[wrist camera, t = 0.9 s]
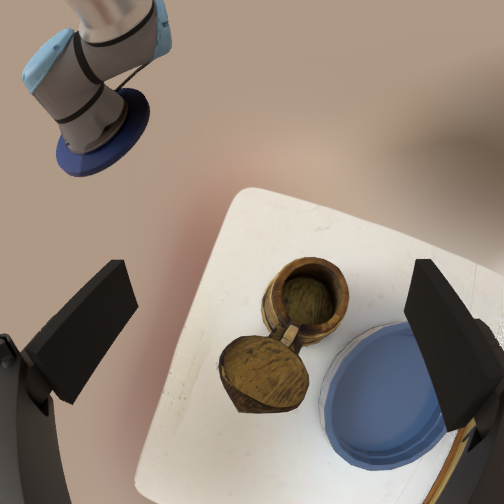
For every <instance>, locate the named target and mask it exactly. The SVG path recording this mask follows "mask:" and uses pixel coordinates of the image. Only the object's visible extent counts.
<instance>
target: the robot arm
mask: <svg viewBox="0 0 504 504" xmlns="http://www.w3.org/2000/svg"><path fill="white" fill-rule="evenodd" d="M65 1H66V3H67V4H68V5H69V6H70V7H71V9H72V10H73V11H74V12H75V13H76V15H77V16H78V17H79V18H80V20H81V23H80V26H79V31H77V32H75V33H74V30H73V29H71V28H66V29H65V30H62V31H60V32H59V33H57V34H56V35H54V36H53V37H52V38H51V39H50V40H48V41H47V42H46V43H45V44H44V45H43V46H42V47H41V48H40V49H39V50H38V51H37V52H36V53H35V54H34V56H33V57H32V58H31V59H30V61H29V62H28V63H27V65H26V67H25V68H24V70H23V73H22V81H23V83H24V84H25V86H26V87H27V89H28V90H29V92H30V94H32V95H33V96H34V97H35V98H36V100H37V101H38V102H39V103H40V104H41V105H42V106H43V107H44V109H45V110H46V111H47V112H48V113H49V114H50V115H51V116H52V117H53V118H54V120H55V121H56V122H57V123H58V125H59V128H60V130H61V133H62V136H63V138H64V141H65V145H66V147H68V149H69V150H70V151H71V152H72V153H73V154H75V155H78V156H85V155H89V154H92V153H95V152H97V151H99V150H100V149H102V148H103V147H105V146H106V145H108V144H109V143H110V142H111V141H112V140H113V139H114V138H115V137H116V136H117V135H118V134H119V133H120V132H121V130H122V129H123V128H124V126H125V124H126V123H127V120H128V118H129V114H130V109H129V106H128V104H127V102H126V100H125V99H124V98H123V97H122V96H121V95H119V94H117V92H118V91H119V90H120V89H121V88H122V87H123V86H124V85H125V84H126V83H127V82H128V81H129V80H130V79H131V78H132V77H133V76H135V75H136V74H137V73H138V72H139V71H140V70H141V69H143V68H144V67H145V66H147V65H148V64H149V63H150V62H152V61H153V60H154V59H156V58H158V57H161V56H163V55H165V54H167V53H168V52H169V51H170V49H171V47H172V39H171V32H170V27H169V24H168V16H167V12H166V8H165V4H164V1H163V0H65ZM140 65H142V66H141V67H139V68H138V69H137V70H136V71H134V72H133V73H132V74H131V75H130V76H129V77H128V78H127V79H126V80H124V81H123V82H122V83H121V84H120V85H119V86H118V87H117V88H116V89H115V90H114V91H113V90H112V89H111V88H109V87H108V86H106V85H105V84H104V81H106V80H108V79H110V78H112V77H115V76H117V75H119V74H121V73H123V72H126V71H128V70H131V69H133V68H135V67H138V66H140ZM137 308H138V304H137V301H136V298H135V295H134V292H133V289H132V286H131V283H130V279H129V276H128V273H127V269H126V266H125V262H124V260H111V261H110V262H109V263H107V265H105V266H104V267H103V268H102V269H101V270H100V271H99V272H98V273H97V274H96V275H95V276H94V277H93V278H92V279H91V280H90V281H88V282H87V283H86V284H85V285H84V286H83V287H82V288H81V289H80V290H79V291H78V292H77V293H76V294H75V295H74V296H73V297H72V298H71V299H70V300H69V301H68V302H67V303H66V304H65V305H64V307H63V308H62V309H61V310H60V311H59V312H58V313H57V314H56V315H54V316H53V317H52V318H51V319H50V320H49V321H48V322H47V323H46V325H45V326H44V327H43V328H42V329H41V331H39V332H38V333H37V334H36V335H35V336H34V338H33V339H32V340H31V341H30V342H29V343H28V344H27V346H26V347H25V348H24V349H23V350H22V351H21V352H19V351H18V349H17V347H16V346H15V344H14V342H13V341H12V339H11V337H10V336H9V335H8V334H0V504H72V503H71V500H70V496H69V492H68V489H67V485H66V481H65V476H64V472H63V467H62V462H61V457H60V452H59V446H58V439H57V433H56V425H55V416H54V405H53V399H52V397H51V396H50V393H51V391H52V390H53V391H54V392H55V394H56V395H57V396H58V397H59V399H60V400H62V401H65V402H67V403H69V404H72V405H73V403H74V402H75V400H76V398H77V397H78V395H79V394H80V392H81V391H82V389H83V387H84V386H85V384H86V383H87V381H88V380H89V378H90V377H91V375H92V373H93V372H94V370H95V369H96V367H97V366H98V364H99V363H100V361H101V360H102V358H103V357H104V355H105V354H106V352H107V351H108V349H109V348H110V346H111V345H112V344H113V342H114V341H115V339H116V338H117V336H118V335H119V333H120V332H121V331H122V329H123V328H124V326H125V325H126V323H127V322H128V321H129V319H130V318H131V317H132V315H133V314H134V312H135V311H136V310H137ZM404 313H405V316H406V318H407V320H408V322H409V325H410V327H411V330H412V332H413V334H414V337H415V339H416V342H417V344H418V347H419V349H420V352H421V354H422V357H423V359H424V362H425V365H426V368H427V370H428V373H429V376H430V379H431V382H432V384H433V387H434V390H435V393H436V396H437V400H438V403H439V406H440V409H441V412H442V416H443V419H444V423H445V426H446V430H447V432H450V431H454V430H457V429H461V428H464V427H466V425H467V424H468V423H469V422H470V421H471V420H472V418H474V420H475V423H476V425H475V426H474V427H473V428H472V429H471V430H470V431H469V433H468V434H467V435H466V436H465V437H464V438H463V440H462V441H461V442H463V443H464V442H465V440H466V439H467V438H468V437H469V438H468V440H467V443H466V445H465V447H464V450H463V452H462V454H461V456H460V458H459V460H458V463H457V465H456V467H455V469H454V471H453V473H452V474H451V476H450V478H449V480H448V482H447V484H446V486H445V487H444V489H443V491H442V493H441V494H440V496H439V498H438V499H437V501H436V503H435V504H504V351H503V349H502V347H501V346H499V342H498V341H497V339H496V338H495V336H494V334H493V333H492V331H491V330H490V328H489V327H488V326H487V325H486V324H485V323H484V322H483V321H481V320H480V319H474V318H473V317H472V315H471V314H470V312H469V311H468V309H467V308H466V306H465V305H464V303H463V302H462V300H461V299H460V298H459V296H458V295H457V293H456V292H455V291H454V289H453V288H452V286H451V285H450V284H449V282H448V281H447V280H446V278H445V277H444V276H443V274H442V273H441V272H440V270H439V269H438V268H437V266H436V265H435V264H434V263H433V261H432V260H431V259H416V261H415V266H414V271H413V275H412V280H411V284H410V288H409V292H408V296H407V300H406V304H405V308H404Z"/></svg>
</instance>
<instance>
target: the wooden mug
mask: <svg viewBox="0 0 504 504" xmlns="http://www.w3.org/2000/svg"><path fill="white" fill-rule="evenodd" d="M348 302H349V291H348V286H347V283H346V281H345V278H344V276H343V274H342V273H341V271H340V269H339V268H338V267H337V266H335V265H334V264H332V263H331V262H329V261H326V260H324V259H321V258H316V257H304V258H300V259H296V260H294V261H292V262H291V263H289V264H287V265H286V266H285V267H284V268H283V269H282V270H281V271H280V272H279V273H278V275H276V276H275V278H274V279H273V280H272V281H271V282H270V283H269V285H268V287H267V288H266V290H265V293H264V296H263V298H262V307H261V311H262V317H263V322H264V323H265V325H266V327H267V329H268V331H269V332H270V333H271V334H270V335H269V337H262V336H256V335H254V336H241V337H239V338H237V339H235V340H234V341H232V342H231V343H230V344H229V345H227V346H226V348H225V349H224V350H223V352H222V354H221V355H220V359H219V366H218V367H219V373H220V378H221V381H222V383H223V386H224V388H225V390H226V392H227V393H228V395H229V397H230V399H231V400H232V402H233V404H234V405H235V407H236V409H237V411H238V412H240V413H255V414H261V413H281V412H289V411H291V410H293V409H296V408H298V406H299V405H300V404H301V402H302V401H303V400H304V398H305V395H306V392H307V389H308V386H309V375H308V373H307V370H306V368H305V366H304V364H303V362H302V360H301V359H300V357H299V355H298V354H299V352H300V349H301V347H302V346H309V345H312V344H315V343H317V342H319V341H320V340H322V339H323V338H324V337H327V336H328V335H329V334H331V333H332V332H333V331H335V330H336V328H337V327H338V326H339V325H340V323H341V322H342V320H343V318H344V315H345V313H346V311H347V307H348Z"/></svg>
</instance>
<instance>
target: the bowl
mask: <svg viewBox="0 0 504 504" xmlns="http://www.w3.org/2000/svg"><path fill="white" fill-rule="evenodd" d="M319 411H320V422H321V425H322V427H323V429H324V431H325V433H326V435H327V437H328V439H329V441H330V443H331V445H332V447H333V449H334V451H335V452H336V453H337V454H338V455H340V456H341V457H342V458H343V459H344V460H345V461H347V462H348V463H349V464H350V465H353V466H356V467H359V468H362V469H366V470H369V471H378V470H392V469H395V468H398V467H401V466H404V465H406V464H409V463H412V462H414V461H415V460H417V459H418V458H420V457H421V456H423V455H424V454H426V453H427V452H428V451H430V450H431V449H432V448H433V447H434V446H435V445H436V444H437V443H438V442H439V440H440V439H441V438H442V437H443V436H444V435H445V434H446V432H447V430H446V426H445V423H444V419H443V416H442V412H441V409H440V406H439V403H438V400H437V396H436V393H435V390H434V387H433V384H432V382H431V379H430V376H429V373H428V370H427V368H426V365H425V362H424V359H423V357H422V354H421V352H420V349H419V347H418V344H417V342H416V339H415V337H414V334H413V332H412V330H411V327H410V325H409V322H399V323H393V324H388V325H384V326H379V327H375V328H372V329H370V330H369V331H367V332H365V333H363V334H362V335H360V336H358V337H356V338H355V339H353V340H352V341H351V342H350V343H349V344H348V345H347V346H346V347H345V348H344V349H343V350H342V351H341V352H340V353H339V354H338V355H337V356H336V358H335V359H334V361H333V363H332V365H331V367H330V369H329V370H328V372H327V374H326V376H325V377H324V380H323V385H322V389H321V393H320V397H319Z"/></svg>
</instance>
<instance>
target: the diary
mask: <svg viewBox="0 0 504 504" xmlns="http://www.w3.org/2000/svg"><path fill="white" fill-rule="evenodd" d="M475 425H476V423H475V420H474V418H472V420H471V421H470V422H469V423H468V424H467V425H466V427H464V428H461V429H459V431H458V433H457V436H456V438H455V441H454V443H453V446H452V448H451V450H450V453H449V455H448V457H447V459H446V461H445V463H444V466H443V468H442V470H441V472H440V474H439V476H438V478H437V479H436V481H435V483H434V485H433V487H432V489H431V491H430V492H429V494H428V496H427V498H426V499H425V501H424V503H423V504H435V503H436V501H437V499H438V498H439V496H440V494H441V493H442V491H443V489H444V487H445V486H446V484H447V482H448V480H449V478H450V476H451V474H452V473H453V471H454V469H455V467H456V465H457V463H458V460H459V458H460V456H461V454H462V452H463V450H464V447H465V445H466V443H467V440H468V438H469V437H468V438H467V439H466V440H465V442H464V443H463V442H461V441H462V440H463V438H464V437H465V436H466V435H467V434H468V433H469V431H470V430H471V429H472V428H473V427H474V426H475Z"/></svg>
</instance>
